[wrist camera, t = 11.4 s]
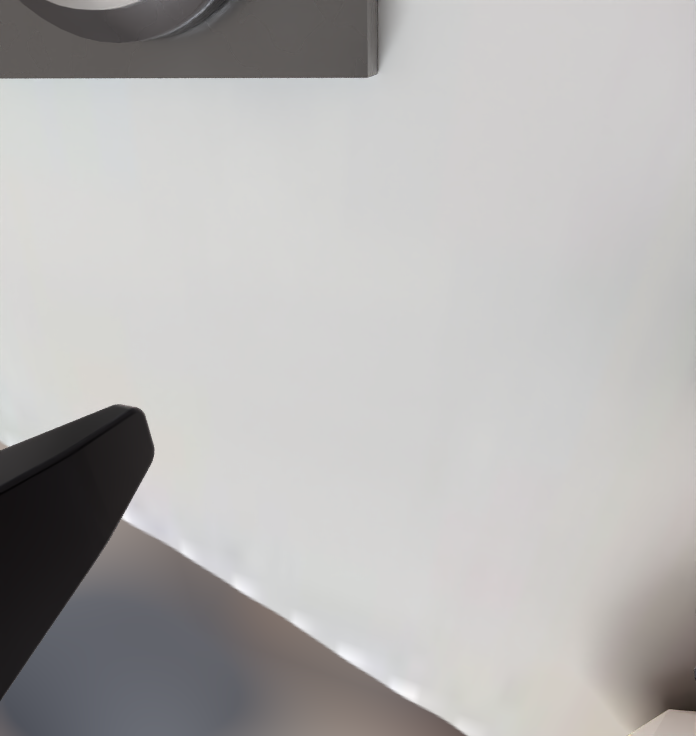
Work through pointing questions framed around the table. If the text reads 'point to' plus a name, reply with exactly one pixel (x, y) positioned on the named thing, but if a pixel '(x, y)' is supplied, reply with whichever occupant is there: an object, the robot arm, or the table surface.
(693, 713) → the geodesic sphere
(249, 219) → the table surface
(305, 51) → the base
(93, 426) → the robot arm
